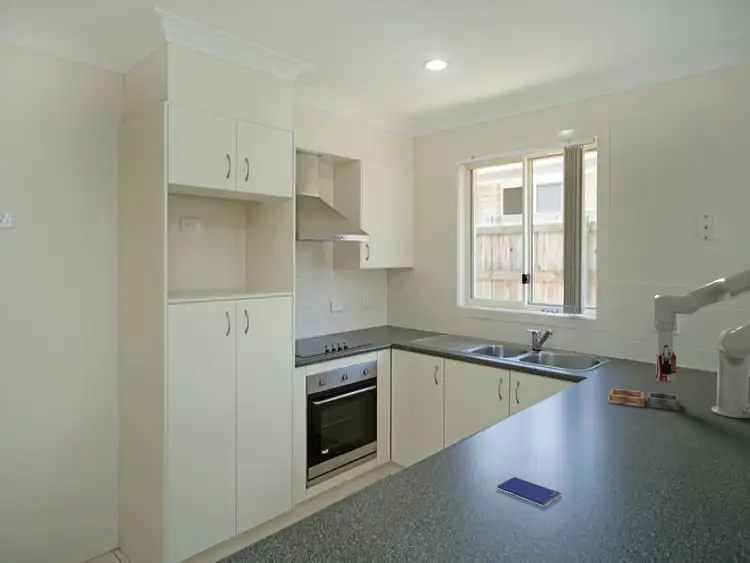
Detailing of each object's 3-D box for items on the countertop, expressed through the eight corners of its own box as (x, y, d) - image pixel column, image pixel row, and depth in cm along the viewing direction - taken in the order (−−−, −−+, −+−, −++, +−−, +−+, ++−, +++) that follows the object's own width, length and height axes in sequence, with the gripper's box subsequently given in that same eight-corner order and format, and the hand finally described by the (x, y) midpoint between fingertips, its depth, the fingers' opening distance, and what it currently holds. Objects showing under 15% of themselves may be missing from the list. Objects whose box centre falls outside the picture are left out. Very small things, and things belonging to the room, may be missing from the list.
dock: (677, 402, 202) (678, 394, 202) (679, 411, 191) (679, 402, 191) (609, 395, 214) (610, 386, 214) (607, 402, 203) (607, 393, 203)
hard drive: (561, 492, 120) (515, 476, 130) (543, 503, 115) (496, 485, 124) (561, 498, 121) (515, 482, 130) (543, 509, 115) (496, 491, 124)
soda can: (679, 383, 195) (680, 352, 195) (661, 383, 195) (662, 352, 195) (669, 379, 202) (670, 349, 201) (652, 379, 202) (653, 349, 202)
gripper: (654, 324, 207) (654, 367, 208) (654, 328, 192) (655, 375, 192) (675, 324, 204) (676, 369, 204) (677, 329, 189) (678, 377, 189)
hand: (666, 372), depth 198 cm, fingers closed on soda can, 6 cm apart
